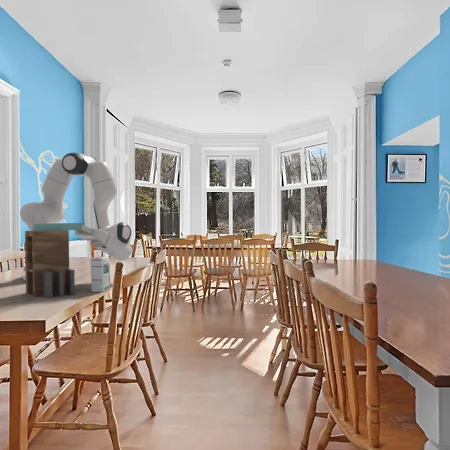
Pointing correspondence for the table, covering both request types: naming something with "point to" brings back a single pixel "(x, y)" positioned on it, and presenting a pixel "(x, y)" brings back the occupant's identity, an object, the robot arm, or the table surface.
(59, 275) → the domino
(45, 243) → the walnut stand
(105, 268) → the syrup box
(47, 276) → the domino
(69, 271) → the domino
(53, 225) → the teal tile bar
